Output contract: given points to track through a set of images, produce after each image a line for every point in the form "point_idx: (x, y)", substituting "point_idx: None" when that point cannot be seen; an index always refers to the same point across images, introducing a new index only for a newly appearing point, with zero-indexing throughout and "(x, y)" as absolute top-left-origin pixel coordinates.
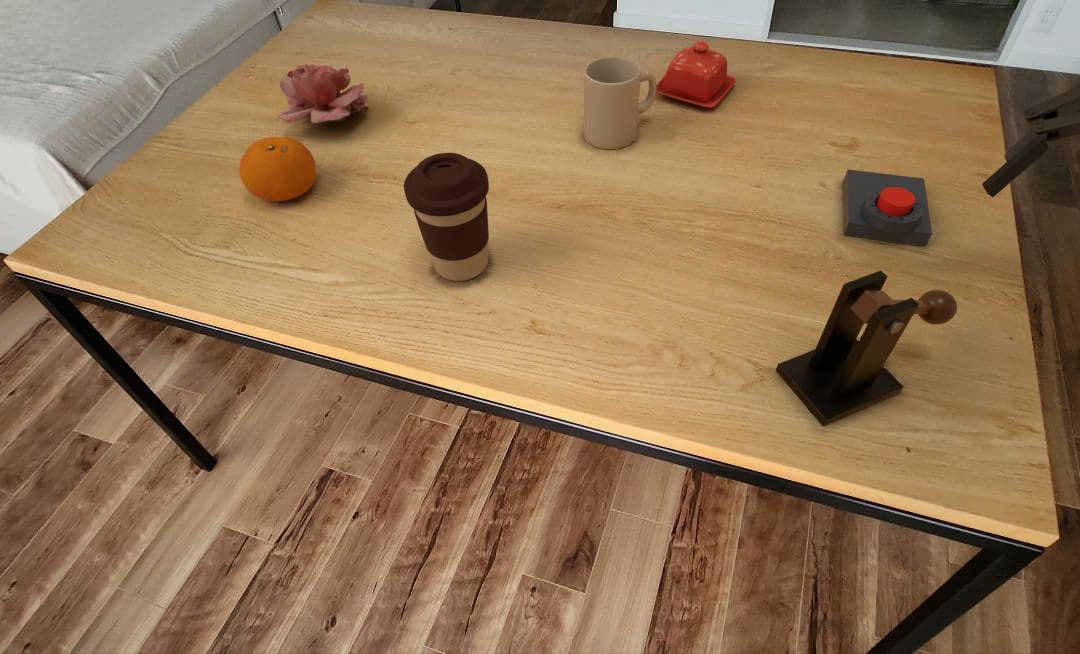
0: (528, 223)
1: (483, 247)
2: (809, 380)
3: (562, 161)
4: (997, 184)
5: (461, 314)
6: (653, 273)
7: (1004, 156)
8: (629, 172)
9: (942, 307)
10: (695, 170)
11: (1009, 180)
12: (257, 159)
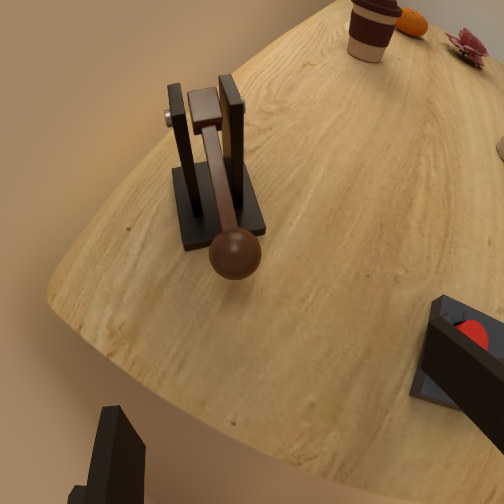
0: (407, 85)
1: (361, 41)
2: None
3: (475, 122)
4: (438, 350)
5: (320, 47)
6: (365, 122)
7: (500, 358)
8: (479, 153)
9: (217, 237)
10: (496, 199)
11: (448, 385)
12: (403, 8)
